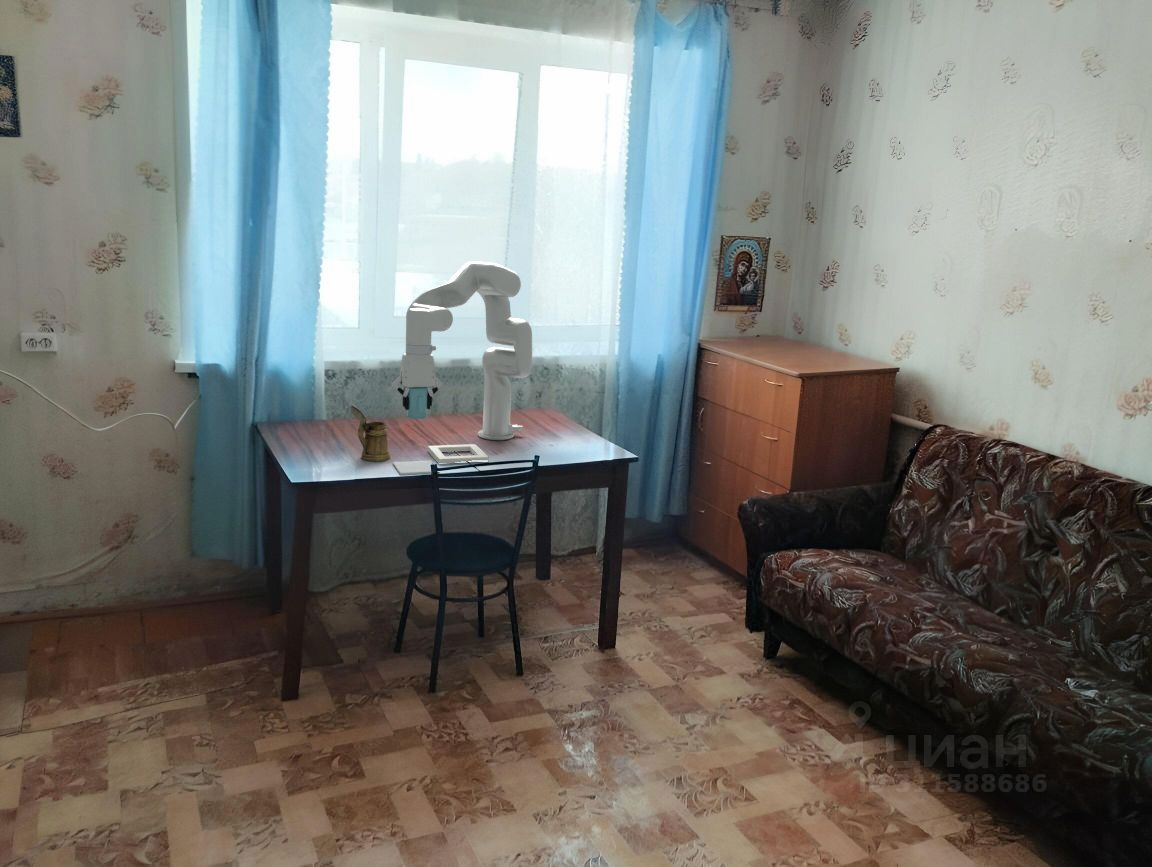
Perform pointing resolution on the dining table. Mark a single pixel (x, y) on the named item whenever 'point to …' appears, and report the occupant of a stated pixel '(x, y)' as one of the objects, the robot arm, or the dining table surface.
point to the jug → (417, 403)
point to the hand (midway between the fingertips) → (417, 408)
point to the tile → (413, 467)
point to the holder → (440, 458)
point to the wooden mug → (372, 438)
